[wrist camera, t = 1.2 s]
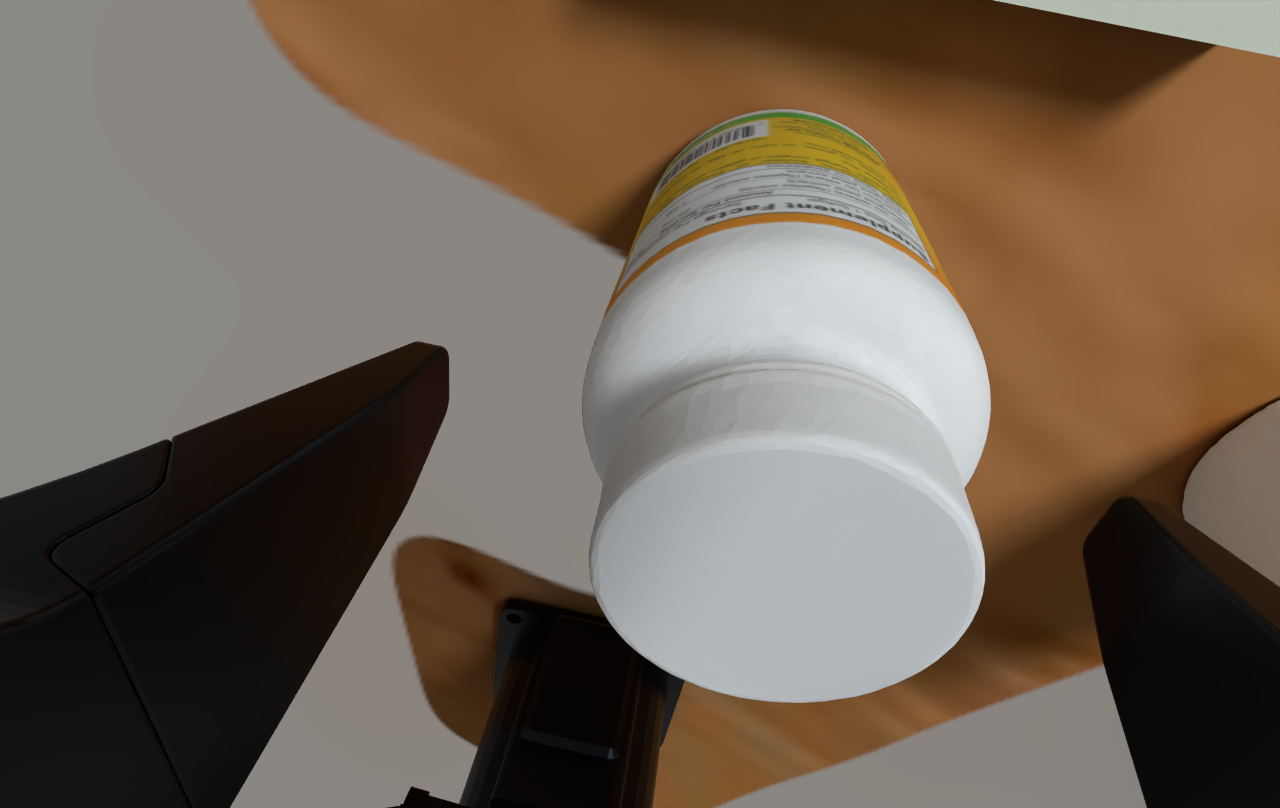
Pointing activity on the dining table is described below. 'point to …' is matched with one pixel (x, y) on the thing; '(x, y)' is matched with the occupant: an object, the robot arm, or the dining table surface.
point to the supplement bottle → (785, 423)
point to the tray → (1184, 19)
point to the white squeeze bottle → (1241, 492)
